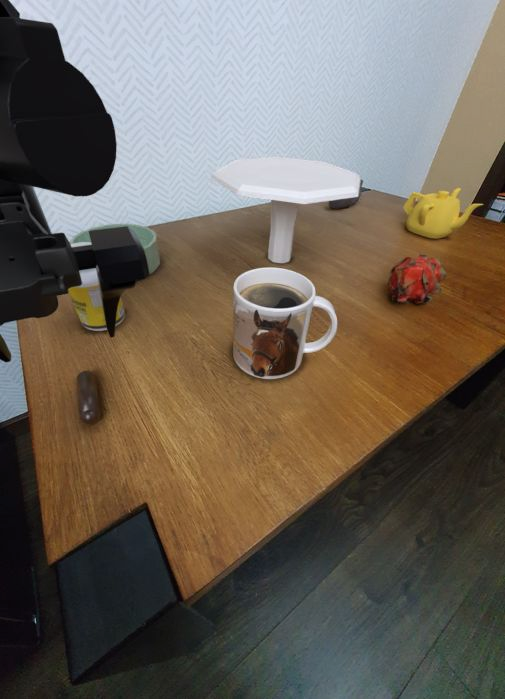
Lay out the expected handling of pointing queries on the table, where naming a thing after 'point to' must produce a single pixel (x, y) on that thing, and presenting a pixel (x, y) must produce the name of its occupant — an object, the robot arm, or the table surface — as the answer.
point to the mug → (275, 321)
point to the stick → (88, 398)
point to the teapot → (435, 213)
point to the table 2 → (287, 191)
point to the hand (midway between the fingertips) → (63, 346)
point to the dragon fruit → (416, 279)
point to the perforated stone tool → (345, 200)
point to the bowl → (144, 235)
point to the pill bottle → (91, 300)
